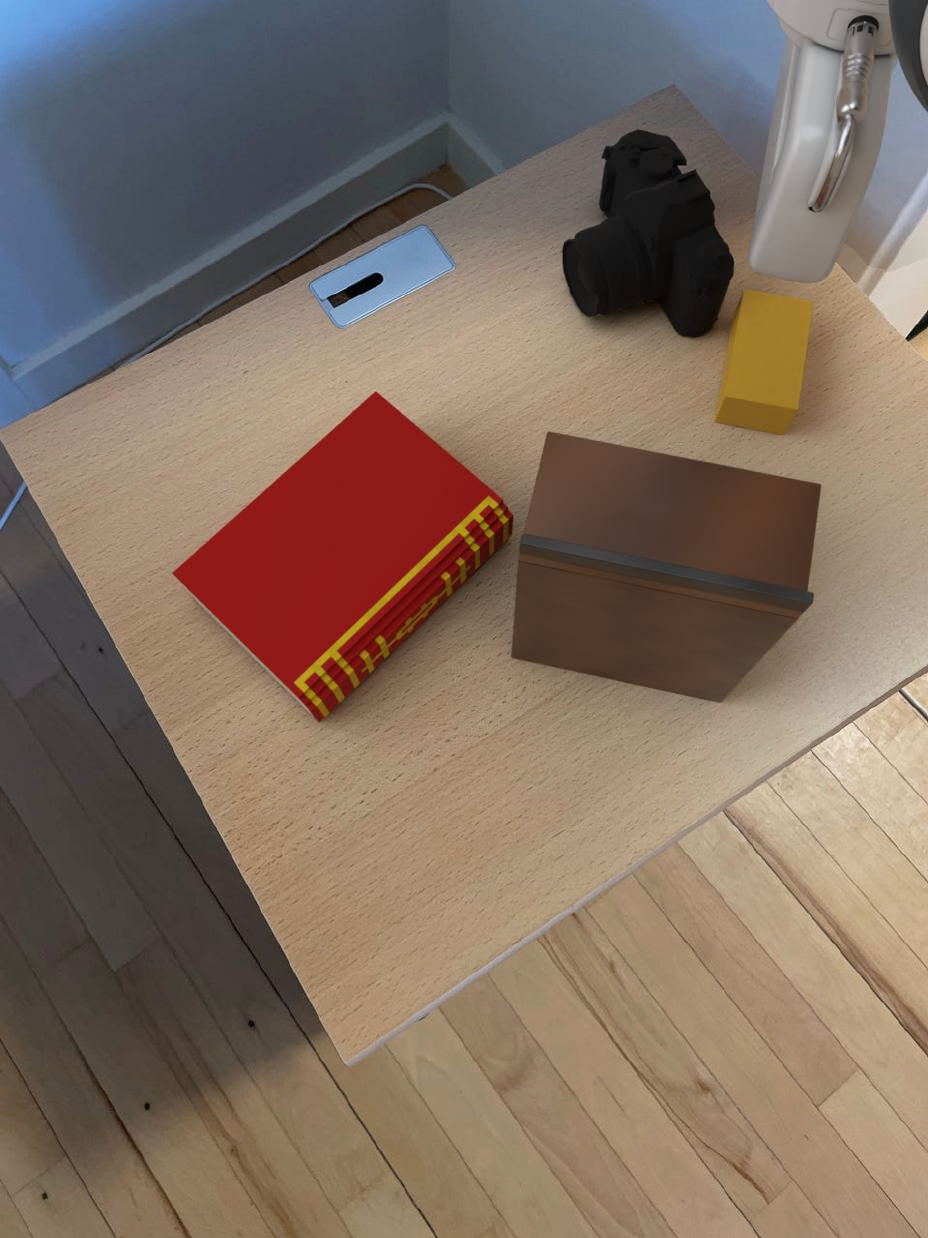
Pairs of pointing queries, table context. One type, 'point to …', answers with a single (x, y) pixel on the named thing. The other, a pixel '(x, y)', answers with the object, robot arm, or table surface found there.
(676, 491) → the top shelf
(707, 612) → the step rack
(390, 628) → the book
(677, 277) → the film camera
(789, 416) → the yellow box
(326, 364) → the table surface
